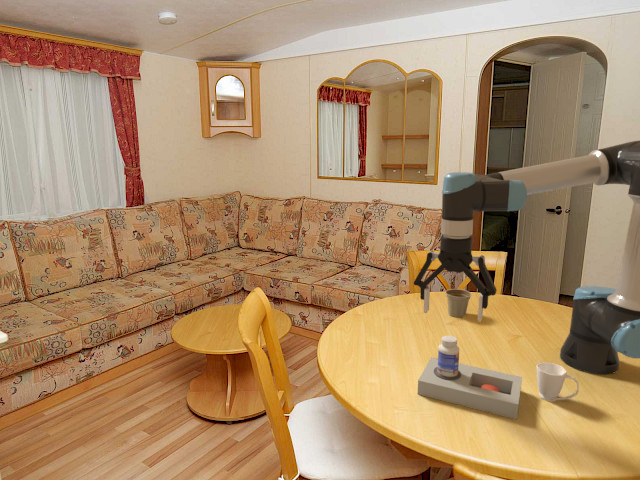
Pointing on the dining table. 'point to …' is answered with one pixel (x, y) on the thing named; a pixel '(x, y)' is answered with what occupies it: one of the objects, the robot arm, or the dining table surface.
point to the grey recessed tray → (473, 388)
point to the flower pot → (457, 302)
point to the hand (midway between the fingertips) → (452, 315)
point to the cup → (552, 381)
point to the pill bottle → (448, 357)
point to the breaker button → (490, 387)
